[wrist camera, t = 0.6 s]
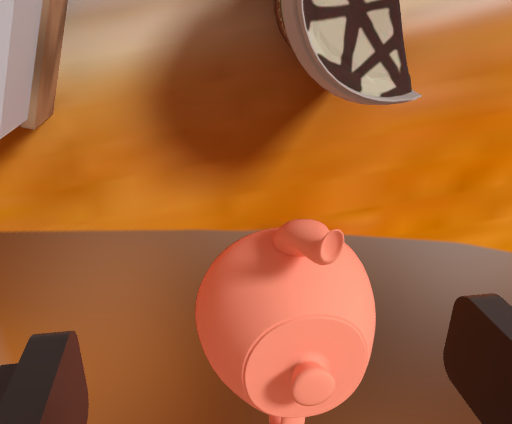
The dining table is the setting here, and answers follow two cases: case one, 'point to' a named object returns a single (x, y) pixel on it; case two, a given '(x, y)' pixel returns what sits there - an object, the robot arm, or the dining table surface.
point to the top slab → (17, 59)
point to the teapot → (288, 320)
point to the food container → (350, 47)
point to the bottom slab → (46, 62)
